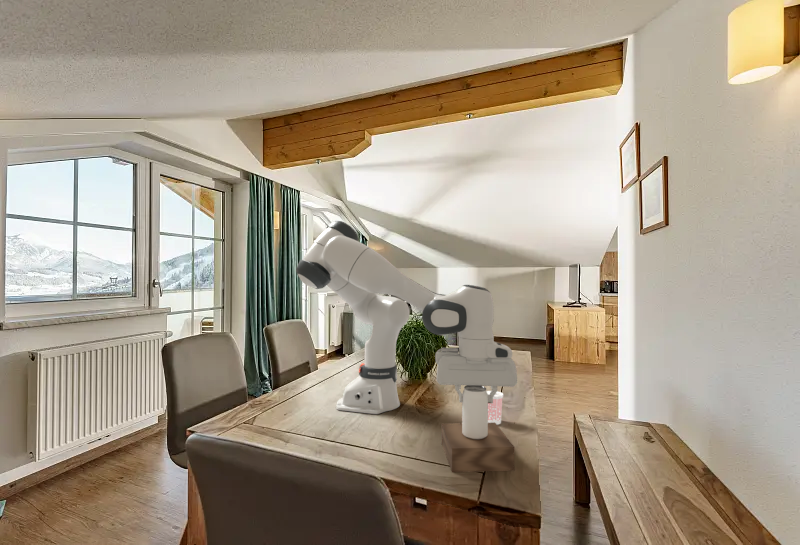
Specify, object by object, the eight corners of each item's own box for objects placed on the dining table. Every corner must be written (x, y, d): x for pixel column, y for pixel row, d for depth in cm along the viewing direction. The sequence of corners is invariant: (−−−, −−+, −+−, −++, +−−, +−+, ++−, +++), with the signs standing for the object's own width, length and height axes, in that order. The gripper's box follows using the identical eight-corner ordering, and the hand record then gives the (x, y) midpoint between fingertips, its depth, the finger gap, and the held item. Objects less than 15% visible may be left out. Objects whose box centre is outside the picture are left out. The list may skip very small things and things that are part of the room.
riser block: (452, 473, 90) (452, 448, 90) (441, 445, 105) (441, 423, 105) (514, 472, 91) (514, 446, 91) (495, 444, 106) (495, 422, 106)
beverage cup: (499, 417, 124) (499, 374, 124) (506, 425, 118) (506, 379, 118) (480, 418, 124) (480, 375, 124) (487, 426, 118) (487, 380, 118)
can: (486, 441, 94) (487, 392, 94) (460, 438, 96) (460, 390, 96) (488, 431, 100) (488, 385, 100) (463, 428, 102) (463, 383, 102)
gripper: (435, 349, 96) (435, 405, 96) (518, 351, 94) (518, 407, 94) (435, 345, 102) (435, 396, 102) (513, 346, 100) (513, 399, 100)
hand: (475, 402), depth 98 cm, fingers closed on can, 5 cm apart
